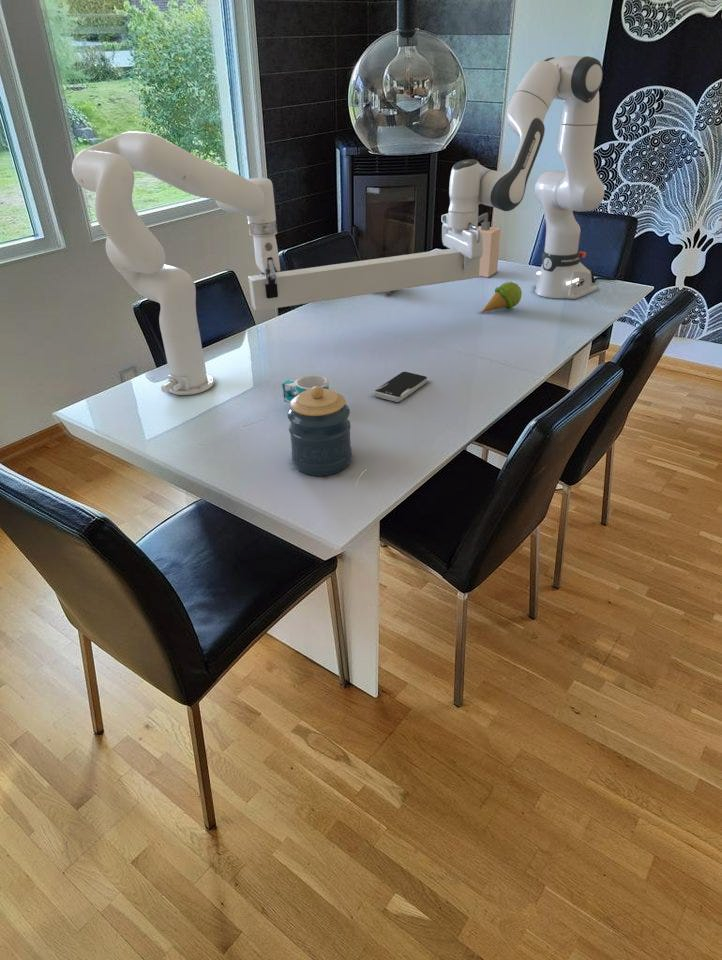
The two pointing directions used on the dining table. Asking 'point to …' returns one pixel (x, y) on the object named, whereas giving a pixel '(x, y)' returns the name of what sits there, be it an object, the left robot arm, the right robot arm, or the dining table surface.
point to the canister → (320, 432)
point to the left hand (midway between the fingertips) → (269, 294)
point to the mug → (302, 386)
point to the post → (361, 278)
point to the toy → (504, 297)
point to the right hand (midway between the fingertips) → (460, 266)
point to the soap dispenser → (488, 247)
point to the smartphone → (400, 386)
